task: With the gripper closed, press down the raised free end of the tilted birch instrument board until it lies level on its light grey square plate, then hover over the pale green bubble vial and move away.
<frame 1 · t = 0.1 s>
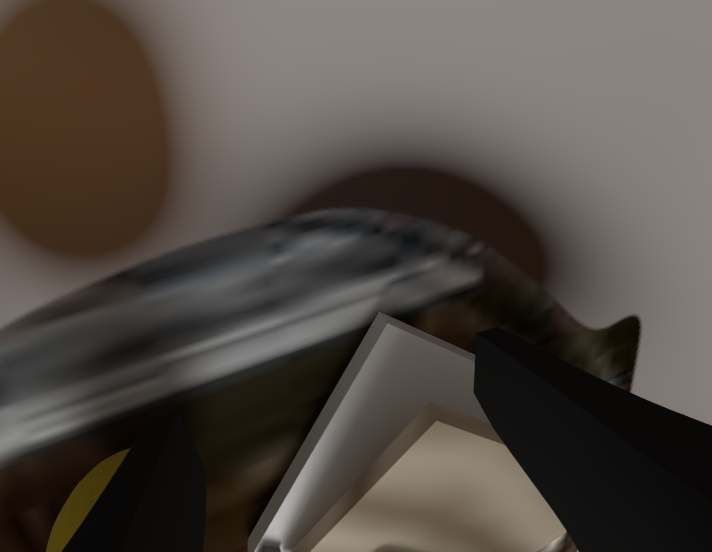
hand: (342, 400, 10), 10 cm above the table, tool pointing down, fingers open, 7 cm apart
light grey square plate: (422, 465, 25), on the table
instrument board: (451, 542, 21), point 5 cm above the table, hinge at 14.0°
lemon: (155, 453, 21), on the table
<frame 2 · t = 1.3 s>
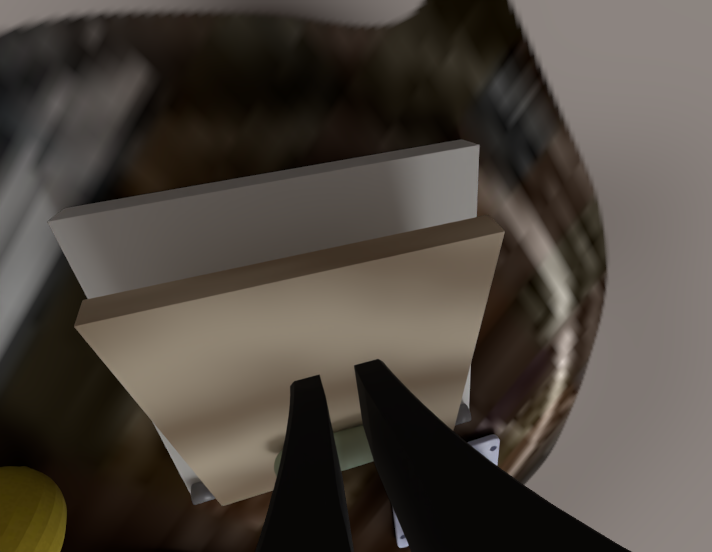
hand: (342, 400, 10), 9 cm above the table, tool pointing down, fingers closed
light grey square plate: (312, 329, 20), on the table
instrument board: (332, 406, 16), point 5 cm above the table, hinge at 14.0°
lemon: (26, 465, 19), on the table
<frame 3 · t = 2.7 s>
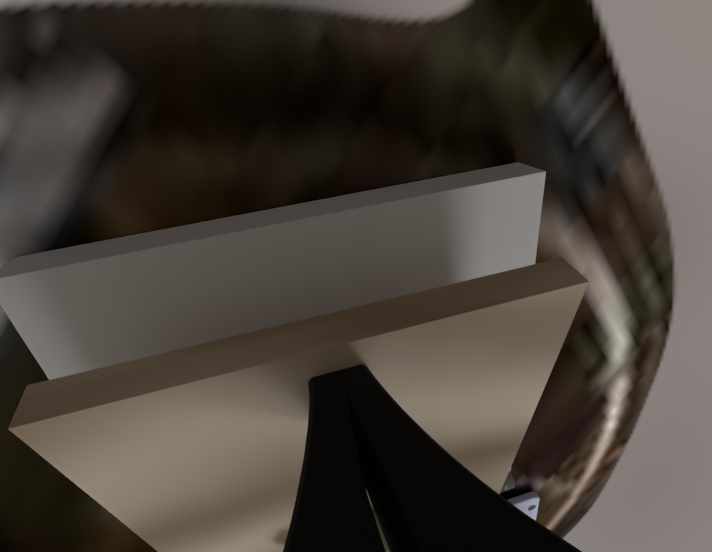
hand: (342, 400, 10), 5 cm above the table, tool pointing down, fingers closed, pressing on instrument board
light grey square plate: (329, 389, 16), on the table
instrument board: (357, 494, 13), point 4 cm above the table, hinge at 11.5°, touching gripper
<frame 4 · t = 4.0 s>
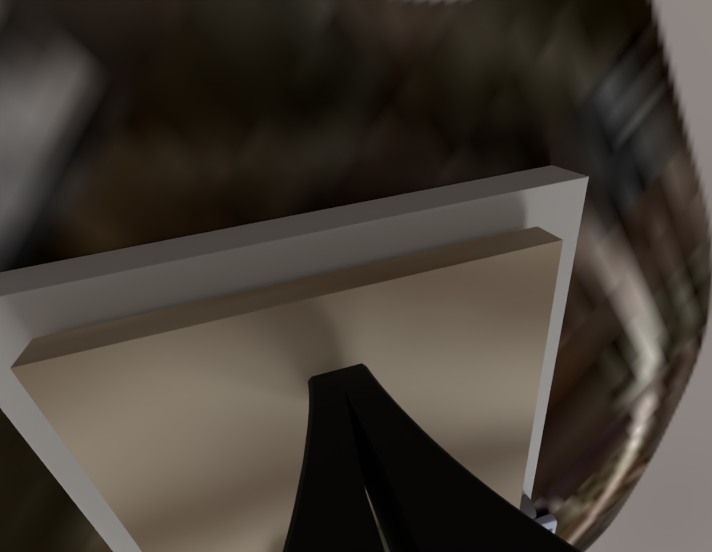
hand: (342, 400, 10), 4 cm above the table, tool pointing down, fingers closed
light grey square plate: (335, 416, 15), on the table
instrument board: (356, 493, 12), point 3 cm above the table, hinge at 0.1°
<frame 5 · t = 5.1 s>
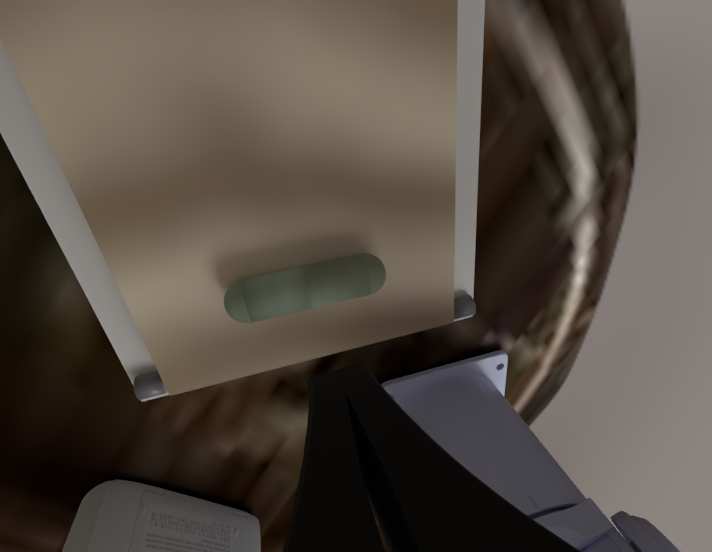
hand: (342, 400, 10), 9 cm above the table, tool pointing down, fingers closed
light grey square plate: (282, 183, 16), on the table
instrument board: (290, 205, 13), point 3 cm above the table, hinge at 0.1°
photo printer: (175, 509, 23), on the table
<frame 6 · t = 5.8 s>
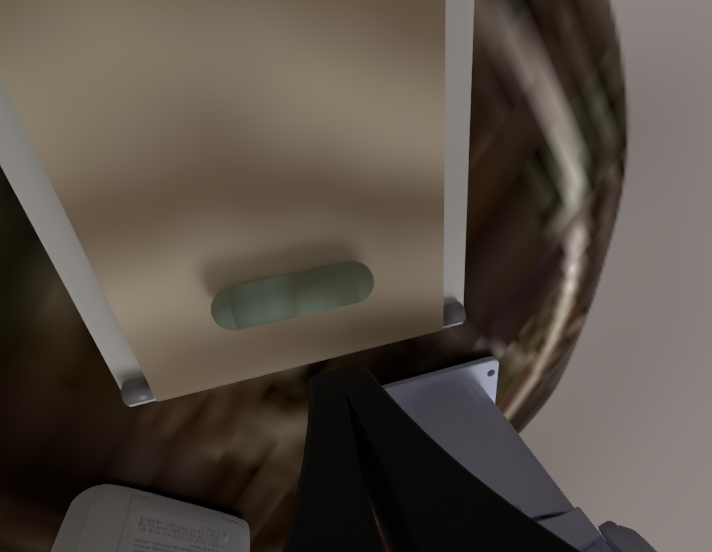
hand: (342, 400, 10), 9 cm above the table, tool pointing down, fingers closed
light grey square plate: (271, 189, 16), on the table
instrument board: (277, 213, 13), point 3 cm above the table, hinge at 0.1°
photo printer: (165, 513, 23), on the table
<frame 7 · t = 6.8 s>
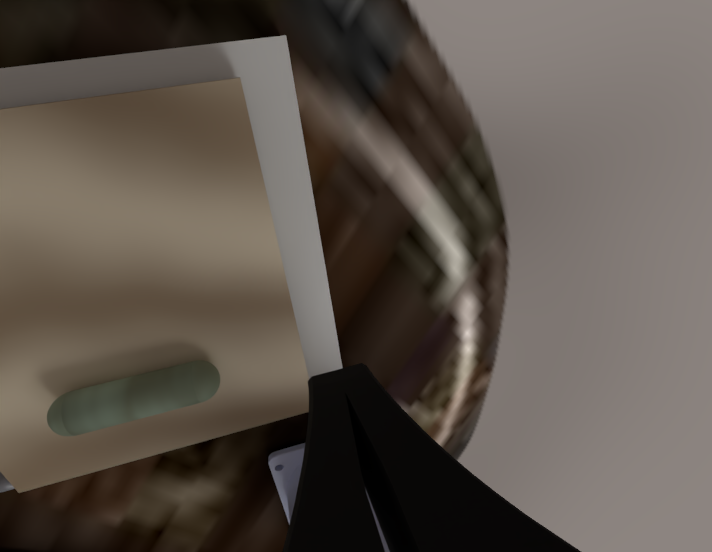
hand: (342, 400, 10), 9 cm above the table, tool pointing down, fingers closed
light grey square plate: (130, 283, 16), on the table
instrument board: (108, 324, 14), point 3 cm above the table, hinge at 0.1°
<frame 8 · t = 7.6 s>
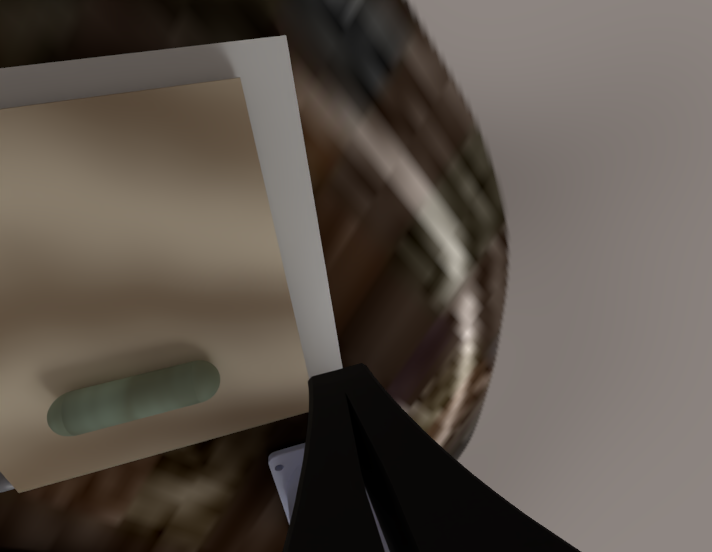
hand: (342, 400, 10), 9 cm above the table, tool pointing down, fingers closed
light grey square plate: (130, 283, 16), on the table
instrument board: (108, 324, 14), point 3 cm above the table, hinge at 0.1°
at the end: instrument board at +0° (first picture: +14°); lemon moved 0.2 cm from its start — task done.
